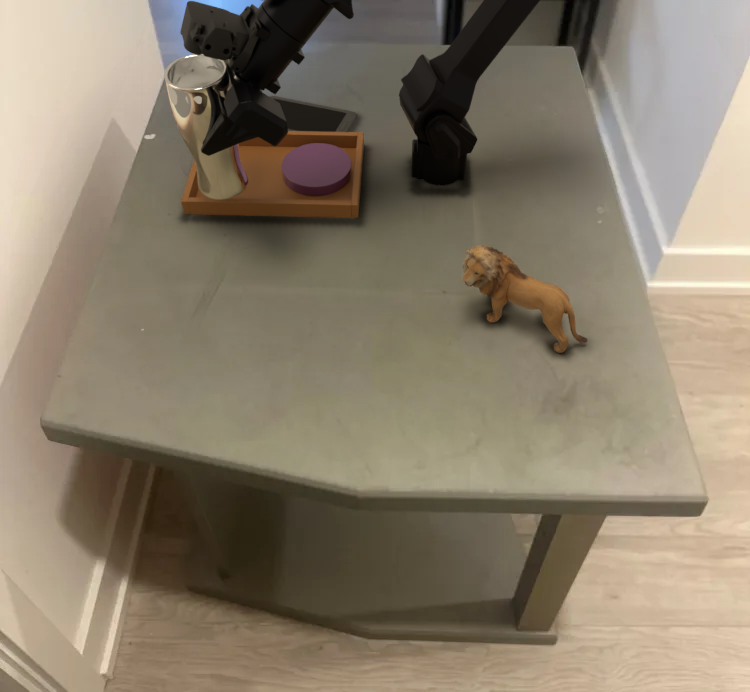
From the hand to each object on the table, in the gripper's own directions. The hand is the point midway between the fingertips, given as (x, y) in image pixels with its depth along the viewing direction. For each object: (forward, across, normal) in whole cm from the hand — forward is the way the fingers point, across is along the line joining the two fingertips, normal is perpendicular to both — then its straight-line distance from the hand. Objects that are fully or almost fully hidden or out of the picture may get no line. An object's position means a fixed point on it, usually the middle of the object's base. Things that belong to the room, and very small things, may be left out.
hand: (199, 134), depth 83 cm
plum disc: (-1, -4, +18) cm, 18 cm away
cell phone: (-1, -16, +19) cm, 25 cm away
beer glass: (+4, 0, +6) cm, 8 cm away
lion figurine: (-11, +27, +29) cm, 41 cm away
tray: (+3, -4, +15) cm, 16 cm away
